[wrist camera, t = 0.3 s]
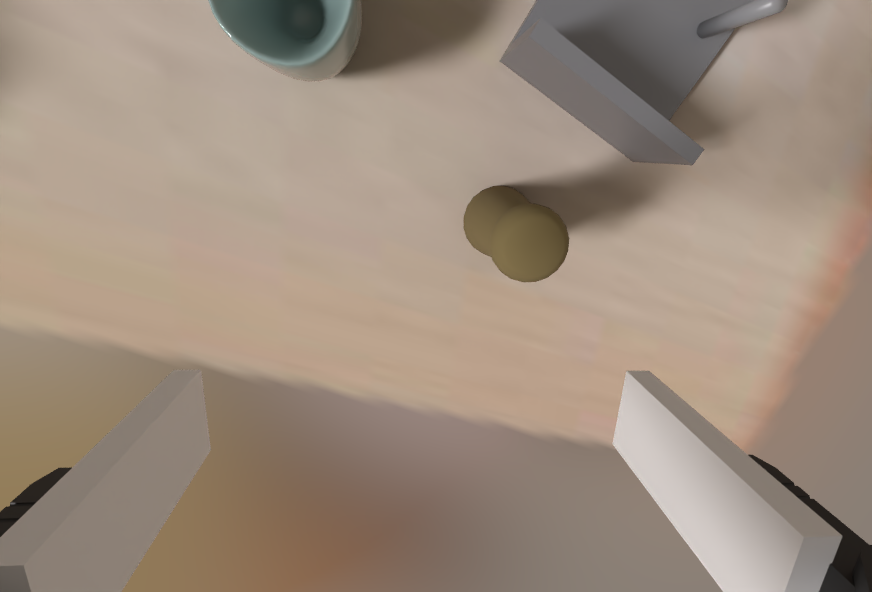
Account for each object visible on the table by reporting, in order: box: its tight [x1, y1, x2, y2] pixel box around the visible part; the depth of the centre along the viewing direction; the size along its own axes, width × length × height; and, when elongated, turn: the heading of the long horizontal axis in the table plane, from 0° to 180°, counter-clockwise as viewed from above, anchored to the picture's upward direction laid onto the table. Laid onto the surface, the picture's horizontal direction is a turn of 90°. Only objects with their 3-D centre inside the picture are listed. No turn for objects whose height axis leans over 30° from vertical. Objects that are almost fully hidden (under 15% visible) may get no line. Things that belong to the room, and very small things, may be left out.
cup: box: [208, 0, 362, 81], centre depth 28 cm, size 8×8×10 cm
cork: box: [464, 186, 569, 282], centre depth 33 cm, size 6×6×11 cm
